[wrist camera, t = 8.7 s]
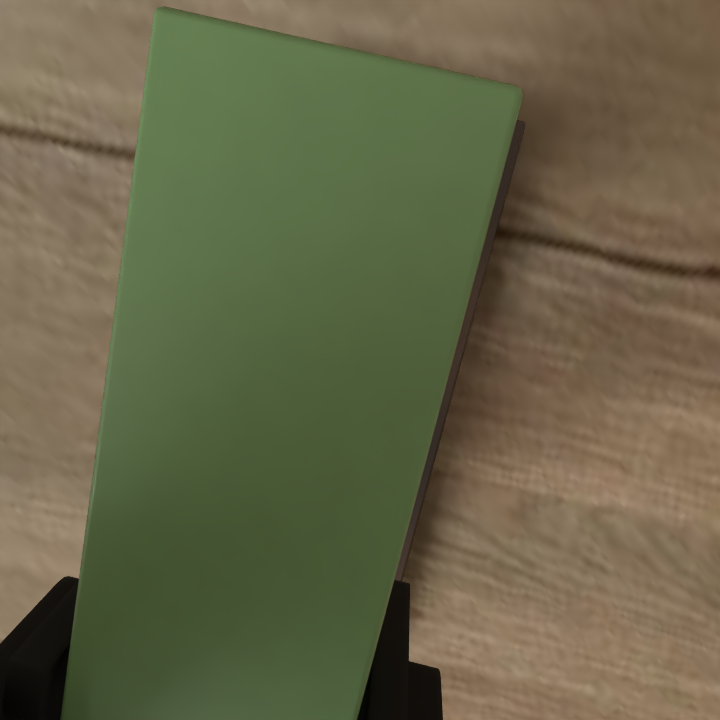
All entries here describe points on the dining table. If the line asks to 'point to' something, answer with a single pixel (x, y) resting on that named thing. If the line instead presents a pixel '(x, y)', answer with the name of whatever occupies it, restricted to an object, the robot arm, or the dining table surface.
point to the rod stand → (461, 343)
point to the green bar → (274, 367)
